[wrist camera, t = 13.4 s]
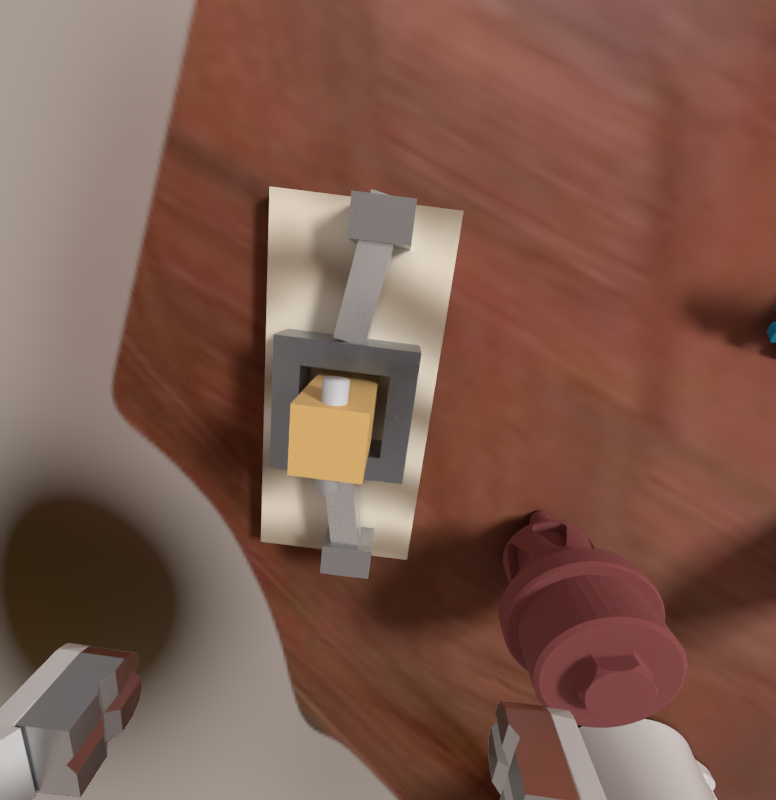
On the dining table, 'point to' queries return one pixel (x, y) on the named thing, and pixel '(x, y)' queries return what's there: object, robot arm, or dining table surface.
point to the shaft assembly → (352, 351)
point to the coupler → (332, 429)
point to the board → (394, 321)
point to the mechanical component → (587, 627)
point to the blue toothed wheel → (772, 332)
